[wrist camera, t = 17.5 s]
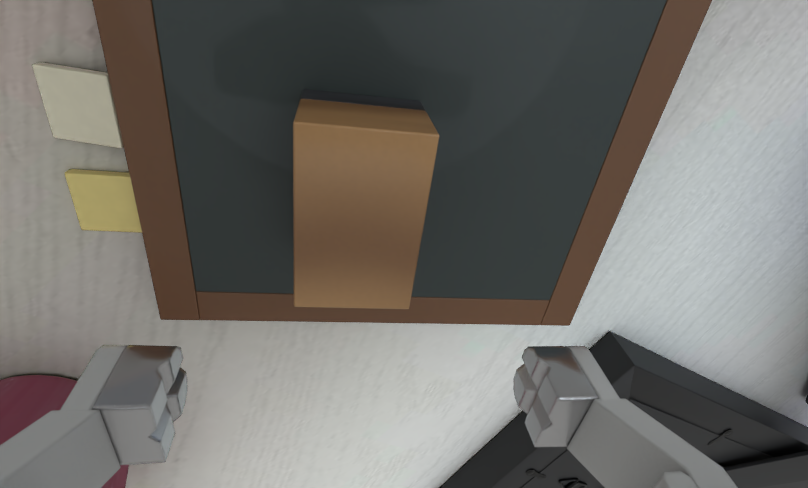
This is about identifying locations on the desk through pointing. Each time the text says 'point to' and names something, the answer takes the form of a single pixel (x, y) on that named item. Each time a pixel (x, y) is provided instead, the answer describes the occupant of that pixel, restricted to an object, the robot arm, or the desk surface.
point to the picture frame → (669, 405)
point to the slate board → (404, 79)
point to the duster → (359, 198)
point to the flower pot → (38, 408)
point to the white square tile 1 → (79, 104)
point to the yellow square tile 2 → (103, 200)
